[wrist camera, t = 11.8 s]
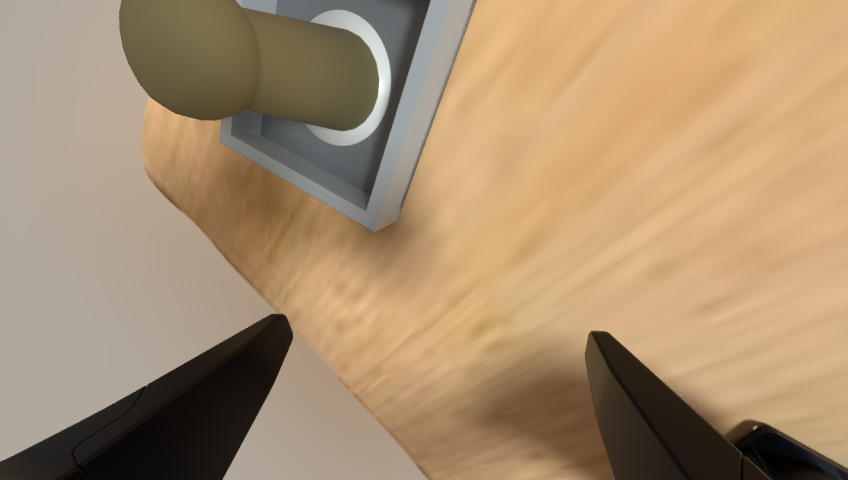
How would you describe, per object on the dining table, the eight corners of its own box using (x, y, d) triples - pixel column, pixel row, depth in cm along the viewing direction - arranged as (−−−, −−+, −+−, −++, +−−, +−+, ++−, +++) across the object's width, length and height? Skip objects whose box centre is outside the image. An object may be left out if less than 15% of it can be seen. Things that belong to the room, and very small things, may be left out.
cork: (389, 42, 19) (202, -53, 9) (368, 143, 21) (203, 152, 12) (309, 18, 20) (78, -83, 11) (298, 115, 23) (103, 103, 13)
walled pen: (479, -8, 17) (462, -34, 14) (397, 221, 23) (374, 232, 20) (280, -75, 20) (237, -105, 17) (254, 141, 26) (220, 142, 24)
